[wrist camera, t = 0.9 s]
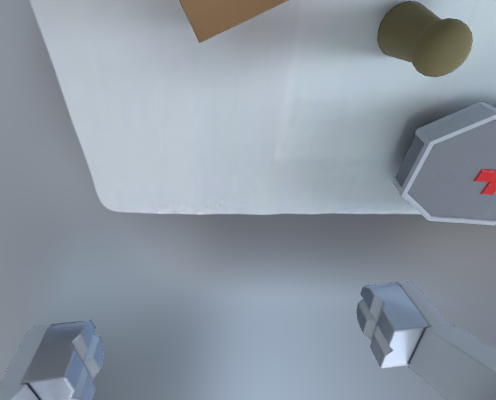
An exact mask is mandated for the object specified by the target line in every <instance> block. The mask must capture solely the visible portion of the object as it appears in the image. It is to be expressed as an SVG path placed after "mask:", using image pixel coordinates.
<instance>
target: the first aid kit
mask: <svg viewBox="0 0 496 400" xmlns="http://www.w3.org/2000/svg"><path fill="white" fill-rule="evenodd" d="M415 134H416V136H415V138H414V140H413V142H412V144H411V146H410V148H409V150H408V152H407V154H406V156H405V158H404V161H403V163H402V165H401V167H400V169H399V171H398V173H397V175H396V176H395V177H393V179H392V182H393V183H394V185H395V186H396V188H397V189H398V191H399V193H400V194H401V196H402V197H403V198H405V199H406V200H407V201H408V202H409V203H410V204H411V205H412V206H413V207H414V208H415V209H416V210H418V211H419V212H420V213H421V214H422V215H423V216H424V217H425V218H426V219H427V220H429V221H442V222H456V223H457V222H458V223H471V224H487V225H496V105H489V104H488V103H485V102H477V103H475V104H473V105H470V106H468V107H466V108H464V109H461V110H459V111H457V112H454V113H452V114H450V115H448V116H445V117H443V118H441V119H438V120H436V121H434V122H432V123H429V124H427V125H425V126H422V127H420V128H418V129H417V130H416V132H415Z"/></svg>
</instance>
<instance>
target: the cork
mask: <svg viewBox="0 0 496 400" xmlns="http://www.w3.org/2000/svg"><path fill="white" fill-rule="evenodd" d="M472 41H473V40H472V32H471V31H470V29H469V27H468V26H467V25H466V24H465V23H463V22H462V21H460V20H457V19H450V18H447V19H443V20H441V19H440V18H439V17H437V16H436V15H435V14H434V13H432V12H431V11H430V10H428V9H427V8H426V7H424V6H423V5H421V4H420V3H418V2H412V1H408V2H404V3H401V4H399V5H397V6H396V7H394V8H393V9H392V10H391V11H390V12H389V13H387V14H386V16H385V17H384V19H383V21H382V22H381V24H380V27H379V30H378V44H379V47H380V49H381V50H382V51H383V53H385V54H387V55H389V56H391V57H395V58H398V59H402V60H405V61H408V62H412V63H413V66H414V67H415V68H416V70H417V71H418V72H420V73H421V74H423V75H425V76H431V77H439V76H444V75H446V74H448V73H450V72H452V71H454V70H455V69H457V68H458V67H459V66H460V65H461V64H462V63H463V62H464V61H465V60H466V58H467V57H468V55H469V53H470V51H471V46H472Z"/></svg>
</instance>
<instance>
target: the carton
mask: <svg viewBox="0 0 496 400" xmlns="http://www.w3.org/2000/svg"><path fill="white" fill-rule="evenodd" d="M286 1H288V0H180V3H181V5H182V7H183V9H184V11H185V13H186V15H187V17H188V20H189V22H190V24H191V26H192V28H193V30H194V32H195V35H196V37H197V39H198V41H199V43H201V42H203V41H205V40H207V39H209V38H211V37H213V36H215V35H217V34H219V33H221V32H224V31H226V30H228V29H230V28H232V27H234V26H236V25H238V24H240V23H242V22H244V21H246V20H249V19H251V18H253V17H255V16H257V15H259V14H261V13H263V12H265V11H267V10H269V9H271V8H274V7H276V6H278V5H280V4H282V3H284V2H286Z"/></svg>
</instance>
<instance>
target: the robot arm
mask: <svg viewBox="0 0 496 400" xmlns="http://www.w3.org/2000/svg"><path fill="white" fill-rule="evenodd" d="M361 296H362V298H363V299H362V300H361V301H360V302H359V303H358V306H357V319H358V323H359V326H360V328H361V330H362V332H363V334H364V335H366V336H367V337H368V338H370V339H371V345H370V348H371V350H372V352H373V354H374V356H375V358H376V360H377V362H378V364H379V366H380V367H381V368H388V367H397V366H405V365H409V366H408V367H409V368H410V369H411V370H412V371H413V372H415V373H416V374H417V375H418V376H419V377H420V378H422V379H423V380H424V381H425V382H426V383H427V384H428V385H430V386H431V387H432V388H433V389H434V390H435V391H436V392H438V393H439V394H440V395H441V396H442V397H443V398H444V399H446V400H496V349H495V348H493V347H491V346H489V345H488V344H486V343H484V342H483V341H481V340H479V339H478V338H476V337H474V336H473V335H471V334H469V333H467V332H466V331H464V330H462V329H461V328H459V327H457V326H456V325H454V324H449V325H448V323H447V322H446V321H445V320H444V319H443V317H442V316H441V314H440V313H439V312H438V311H437V309H436V308H435V307H434V306H433V304H432V303H431V302H430V301H429V299H428V298H427V297H426V296H425V294H424V293H423V292H422V290H421V289H420V288H419V287H418V285H417V284H416V283H415V282H413V281H412V280H407V281H399V282H389V283H381V284H374V285H367V286H364V287H363V288H362V290H361ZM95 328H96V327H95V325H94V324H93V322H92V320H89V321H79V322H69V323H58V324H49V325H40V326H33V327H32V328H31V329H30V330H29V331H28V332H27V333H26V335H25V337H24V339H23V340H22V343H21V345H20V346H19V348H18V350H17V352H16V353H15V355H14V357H13V359H12V361H11V363H10V365H9V366H8V368H7V370H6V372H5V374H4V376H3V378H2V380H1V381H0V400H92V399H93V395H94V391H95V388H96V386H95V384H94V382H93V380H92V379H93V378H94V377H95V376H96V375H97V373H98V372H99V371H100V370H101V366H102V362H103V353H104V348H103V342H102V340H101V337H100V336H98V335H96V334H94V331H95Z"/></svg>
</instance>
